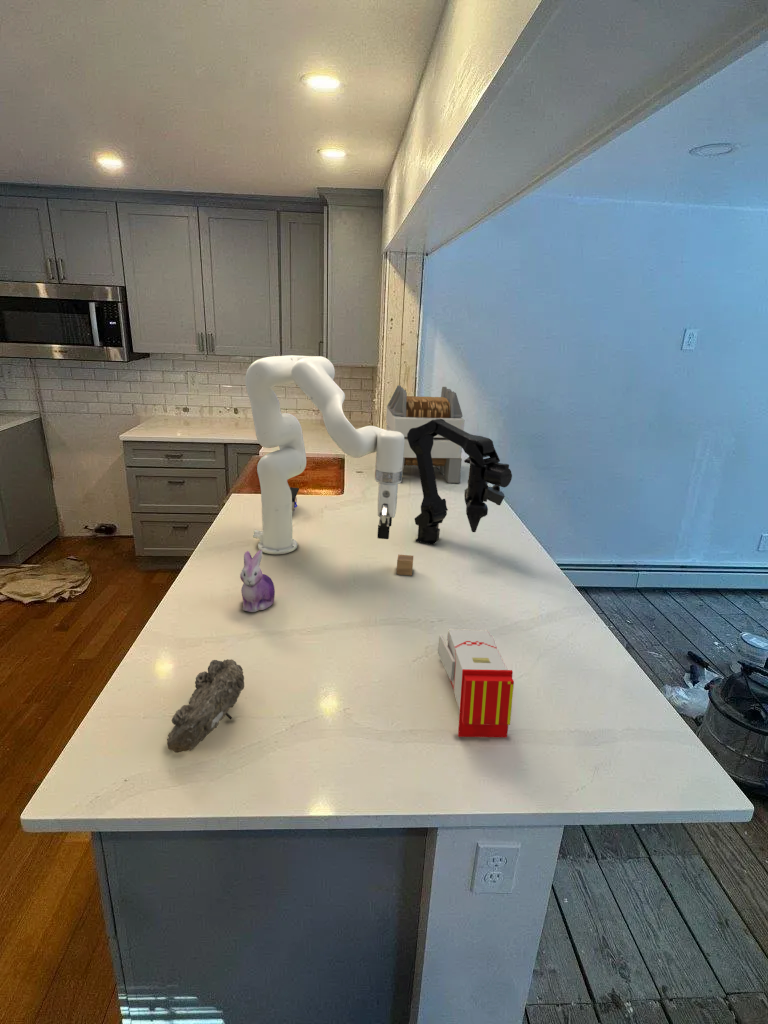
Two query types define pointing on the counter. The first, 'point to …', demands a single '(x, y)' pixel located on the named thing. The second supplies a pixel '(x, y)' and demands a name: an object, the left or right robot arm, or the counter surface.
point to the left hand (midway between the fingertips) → (384, 531)
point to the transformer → (419, 412)
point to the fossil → (206, 705)
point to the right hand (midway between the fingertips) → (472, 526)
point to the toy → (478, 682)
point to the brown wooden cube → (404, 565)
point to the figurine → (255, 584)
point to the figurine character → (294, 497)
